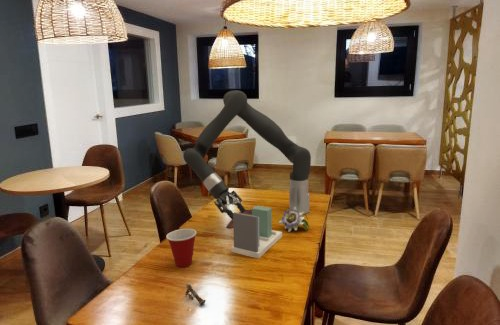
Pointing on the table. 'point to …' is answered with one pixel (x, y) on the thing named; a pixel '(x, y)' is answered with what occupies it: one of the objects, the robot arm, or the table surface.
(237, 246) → the book rack
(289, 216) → the passion flower
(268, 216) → the green book
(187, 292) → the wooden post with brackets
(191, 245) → the plastic cup
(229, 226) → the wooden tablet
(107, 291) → the table surface
